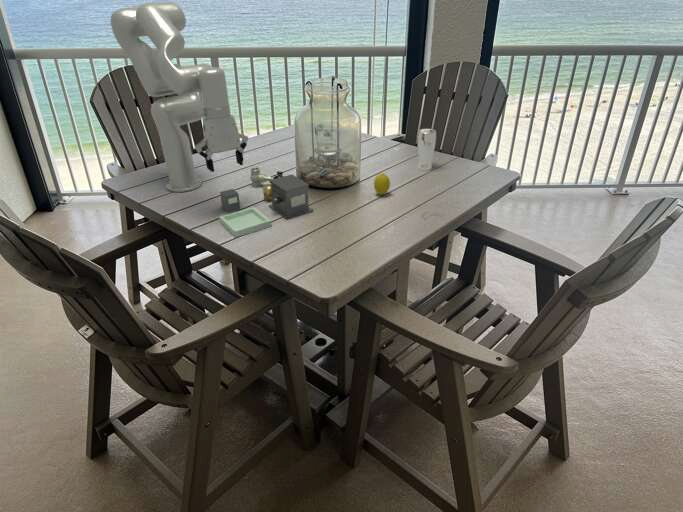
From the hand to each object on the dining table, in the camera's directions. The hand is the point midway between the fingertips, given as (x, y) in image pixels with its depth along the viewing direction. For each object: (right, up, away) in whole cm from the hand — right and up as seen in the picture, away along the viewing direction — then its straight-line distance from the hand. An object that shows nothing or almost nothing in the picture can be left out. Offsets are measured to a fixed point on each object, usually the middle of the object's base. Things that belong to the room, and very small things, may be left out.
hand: (226, 167), depth 144 cm
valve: (+9, -3, +24) cm, 26 cm away
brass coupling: (+12, -9, +14) cm, 20 cm away
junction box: (+20, -13, +8) cm, 25 cm away
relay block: (0, -12, +8) cm, 15 cm away
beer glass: (+70, +7, +40) cm, 81 cm away
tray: (+7, -18, -1) cm, 19 cm away
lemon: (+51, -7, +17) cm, 54 cm away
